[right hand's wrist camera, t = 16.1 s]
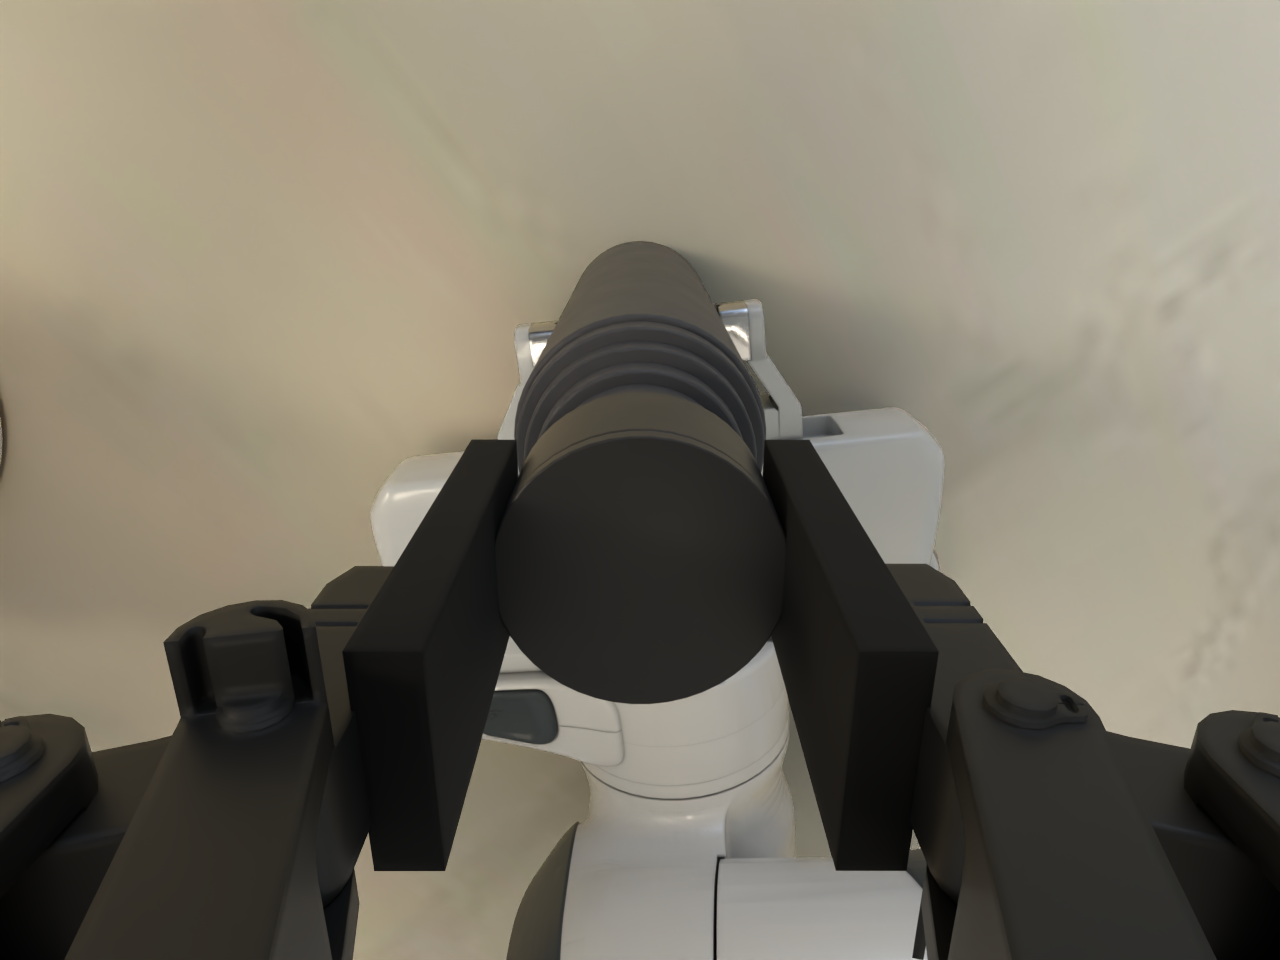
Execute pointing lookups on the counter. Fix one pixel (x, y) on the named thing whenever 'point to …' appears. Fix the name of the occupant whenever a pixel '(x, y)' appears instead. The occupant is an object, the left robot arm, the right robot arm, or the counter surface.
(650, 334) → the bottle
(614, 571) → the cap
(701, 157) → the counter surface
